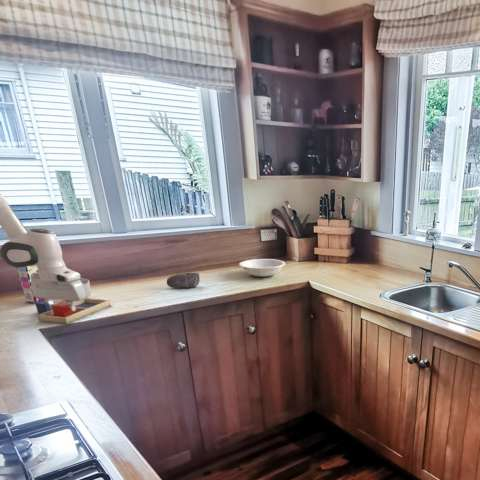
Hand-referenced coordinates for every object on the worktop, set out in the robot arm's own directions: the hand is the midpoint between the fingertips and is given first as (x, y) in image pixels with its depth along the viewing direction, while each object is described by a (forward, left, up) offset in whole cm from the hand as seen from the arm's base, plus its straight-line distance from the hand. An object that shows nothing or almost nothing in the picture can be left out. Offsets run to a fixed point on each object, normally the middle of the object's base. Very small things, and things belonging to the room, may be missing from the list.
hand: (63, 309), depth 179 cm
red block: (0, 0, -2) cm, 2 cm away
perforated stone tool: (+19, +52, -3) cm, 56 cm away
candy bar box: (-28, +18, -3) cm, 34 cm away
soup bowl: (+45, +86, -3) cm, 97 cm away
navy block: (-11, +3, -3) cm, 12 cm away
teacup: (-15, +22, -3) cm, 27 cm away
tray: (0, +6, -3) cm, 7 cm away
